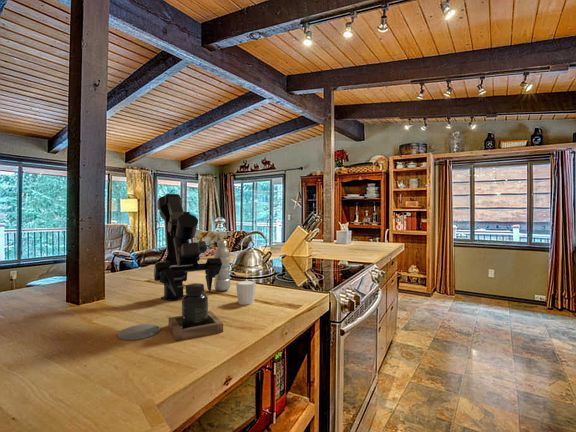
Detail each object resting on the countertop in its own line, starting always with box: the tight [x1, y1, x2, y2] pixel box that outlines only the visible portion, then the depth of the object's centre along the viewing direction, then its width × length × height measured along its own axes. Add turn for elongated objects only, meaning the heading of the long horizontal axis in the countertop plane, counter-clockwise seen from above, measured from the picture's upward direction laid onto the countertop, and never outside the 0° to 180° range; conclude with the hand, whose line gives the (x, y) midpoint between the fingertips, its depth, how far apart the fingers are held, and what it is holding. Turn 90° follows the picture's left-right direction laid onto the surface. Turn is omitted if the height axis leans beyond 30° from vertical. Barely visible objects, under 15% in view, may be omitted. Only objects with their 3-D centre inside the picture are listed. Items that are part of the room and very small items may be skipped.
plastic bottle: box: [213, 240, 232, 292], centre depth 128 cm, size 6×7×20 cm
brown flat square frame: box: [167, 310, 224, 342], centre depth 87 cm, size 12×12×2 cm
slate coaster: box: [117, 323, 161, 341], centre depth 84 cm, size 10×10×1 cm
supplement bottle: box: [181, 282, 209, 329], centre depth 87 cm, size 7×7×12 cm
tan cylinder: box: [235, 280, 256, 306], centre depth 111 cm, size 7×7×7 cm
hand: (193, 293), depth 88 cm, fingers open, 9 cm apart
